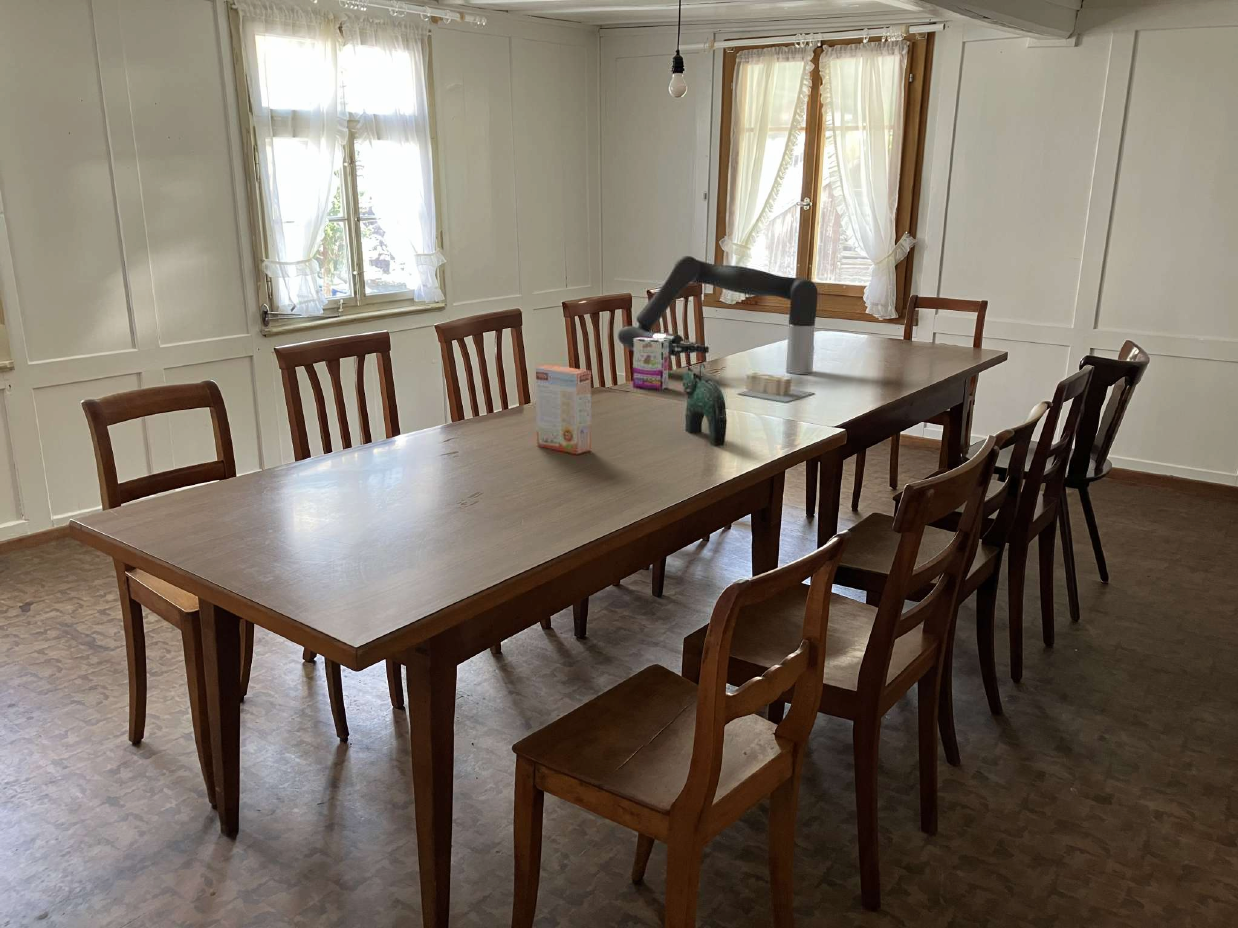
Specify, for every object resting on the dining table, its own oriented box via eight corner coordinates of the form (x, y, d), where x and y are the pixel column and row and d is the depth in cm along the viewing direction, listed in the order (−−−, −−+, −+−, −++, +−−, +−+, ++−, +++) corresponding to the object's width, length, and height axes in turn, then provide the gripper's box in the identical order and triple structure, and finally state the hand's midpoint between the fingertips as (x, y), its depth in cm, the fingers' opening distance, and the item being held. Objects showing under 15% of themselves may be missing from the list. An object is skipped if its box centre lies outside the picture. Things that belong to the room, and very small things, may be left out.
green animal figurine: (679, 429, 270) (681, 358, 265) (700, 427, 272) (702, 357, 267) (710, 447, 252) (713, 371, 247) (732, 445, 255) (735, 370, 249)
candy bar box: (668, 388, 324) (669, 339, 319) (662, 390, 320) (663, 341, 315) (638, 384, 329) (639, 336, 324) (631, 387, 324) (632, 338, 320)
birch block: (755, 372, 322) (791, 378, 313) (754, 387, 324) (790, 393, 315) (746, 374, 319) (783, 380, 310) (746, 389, 320) (782, 396, 311)
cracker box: (592, 450, 248) (592, 370, 243) (576, 455, 244) (576, 373, 238) (551, 441, 257) (550, 363, 251) (536, 446, 252) (534, 366, 246)
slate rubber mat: (767, 386, 328) (767, 385, 328) (814, 394, 316) (814, 392, 316) (737, 394, 315) (737, 393, 315) (785, 403, 303) (785, 401, 303)
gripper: (655, 335, 335) (696, 341, 324) (679, 331, 345) (719, 337, 334) (655, 357, 337) (695, 363, 326) (678, 352, 347) (718, 358, 336)
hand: (707, 350), depth 330 cm, fingers closed
